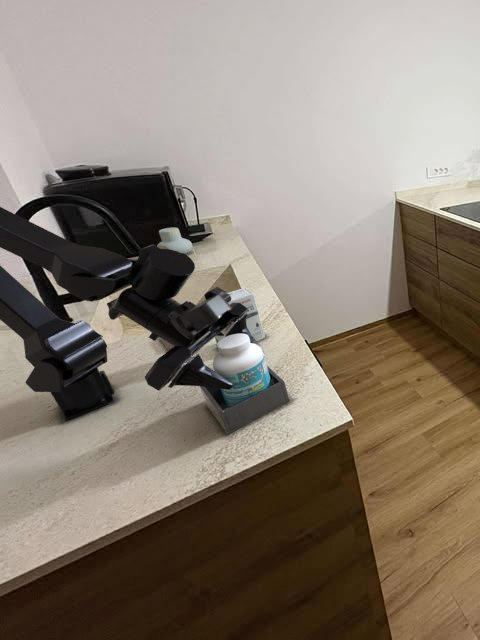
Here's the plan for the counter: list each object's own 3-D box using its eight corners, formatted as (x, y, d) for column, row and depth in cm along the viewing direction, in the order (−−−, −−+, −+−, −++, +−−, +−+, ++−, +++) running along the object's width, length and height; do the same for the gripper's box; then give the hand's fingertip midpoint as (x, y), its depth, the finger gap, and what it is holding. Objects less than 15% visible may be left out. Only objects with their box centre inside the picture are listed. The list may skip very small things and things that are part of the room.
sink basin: (227, 434, 61) (219, 413, 60) (207, 406, 68) (199, 386, 66) (289, 401, 68) (284, 381, 67) (266, 378, 75) (260, 359, 73)
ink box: (226, 355, 82) (210, 307, 77) (217, 347, 85) (200, 300, 80) (266, 337, 88) (254, 292, 84) (257, 331, 91) (244, 287, 86)
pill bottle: (227, 424, 63) (202, 358, 58) (230, 397, 70) (208, 335, 64) (276, 409, 67) (257, 345, 61) (275, 385, 73) (258, 325, 67)
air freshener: (198, 252, 145) (190, 227, 141) (177, 259, 138) (168, 233, 134) (177, 250, 148) (168, 225, 144) (155, 257, 141) (145, 231, 137)
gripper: (133, 311, 50) (239, 377, 54) (222, 261, 67) (297, 314, 71) (101, 360, 53) (202, 419, 57) (193, 300, 70) (266, 349, 74)
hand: (247, 369), depth 65 cm, fingers open, 9 cm apart
